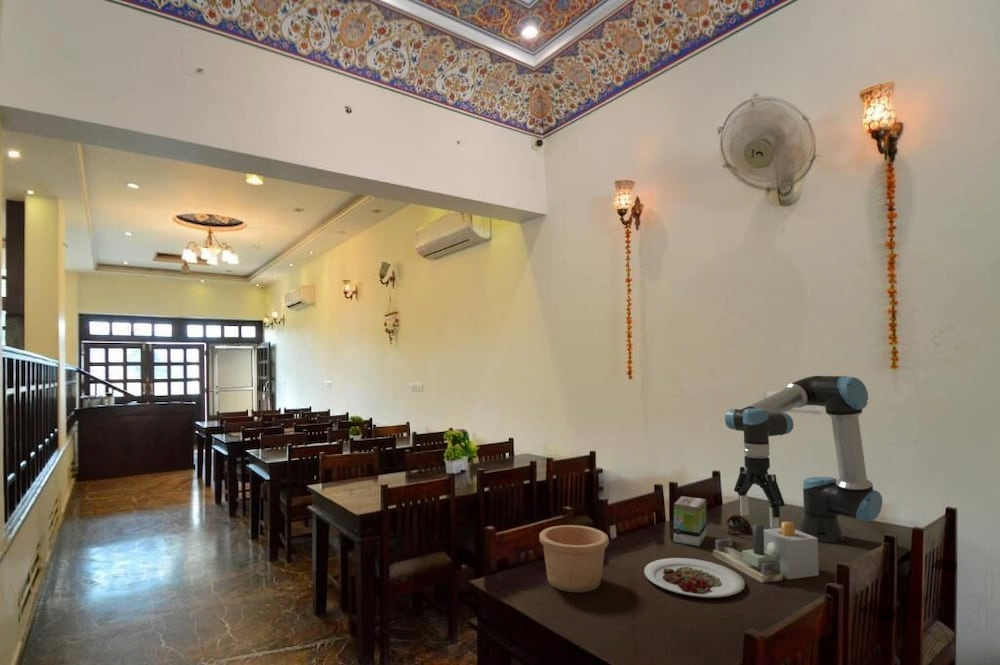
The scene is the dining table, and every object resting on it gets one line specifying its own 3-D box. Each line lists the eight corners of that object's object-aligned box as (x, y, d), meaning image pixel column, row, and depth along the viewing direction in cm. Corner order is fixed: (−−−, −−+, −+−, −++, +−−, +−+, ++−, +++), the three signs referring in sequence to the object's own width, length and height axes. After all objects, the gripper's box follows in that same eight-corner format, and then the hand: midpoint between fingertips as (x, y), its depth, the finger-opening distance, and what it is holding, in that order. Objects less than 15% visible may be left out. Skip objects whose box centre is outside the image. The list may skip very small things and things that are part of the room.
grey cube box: (789, 562, 186) (789, 526, 187) (818, 575, 174) (817, 538, 175) (759, 565, 183) (759, 529, 183) (787, 579, 171) (786, 541, 172)
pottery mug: (758, 538, 212) (750, 521, 211) (736, 547, 214) (727, 531, 212) (746, 521, 224) (738, 505, 223) (725, 530, 225) (717, 514, 224)
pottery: (622, 581, 170) (621, 535, 171) (581, 603, 154) (580, 552, 155) (567, 562, 185) (567, 520, 186) (525, 581, 169) (525, 535, 170)
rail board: (732, 553, 194) (731, 538, 194) (782, 580, 171) (782, 562, 171) (713, 555, 192) (712, 540, 192) (761, 582, 169) (761, 564, 169)
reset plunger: (788, 546, 182) (788, 520, 182) (798, 550, 178) (797, 524, 178) (779, 547, 181) (778, 521, 181) (788, 551, 177) (787, 525, 177)
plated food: (710, 561, 188) (709, 551, 188) (766, 598, 158) (766, 586, 158) (629, 566, 183) (629, 556, 183) (672, 606, 153) (672, 594, 153)
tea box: (700, 547, 201) (699, 507, 202) (672, 542, 206) (672, 503, 207) (706, 535, 214) (706, 498, 215) (681, 531, 219) (680, 494, 220)
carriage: (760, 557, 180) (759, 521, 180) (776, 565, 173) (775, 527, 174) (742, 559, 178) (741, 522, 179) (757, 567, 171) (756, 529, 172)
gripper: (722, 450, 188) (724, 511, 187) (775, 463, 164) (778, 534, 163) (740, 448, 190) (742, 509, 189) (795, 462, 166) (798, 531, 165)
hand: (759, 520), depth 176 cm, fingers open, 13 cm apart
